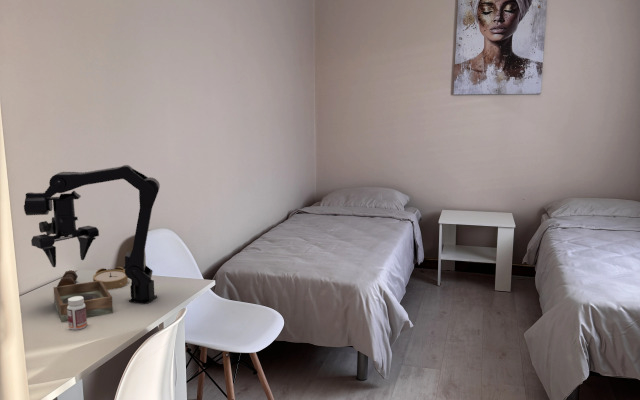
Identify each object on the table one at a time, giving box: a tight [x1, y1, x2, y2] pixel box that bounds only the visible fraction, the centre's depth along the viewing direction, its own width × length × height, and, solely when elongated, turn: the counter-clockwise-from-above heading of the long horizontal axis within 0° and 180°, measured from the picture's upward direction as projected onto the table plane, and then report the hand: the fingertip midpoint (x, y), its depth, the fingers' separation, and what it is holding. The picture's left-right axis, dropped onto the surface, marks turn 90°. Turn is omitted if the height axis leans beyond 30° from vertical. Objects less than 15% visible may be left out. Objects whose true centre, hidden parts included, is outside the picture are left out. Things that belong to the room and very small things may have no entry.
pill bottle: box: [67, 296, 88, 331], centre depth 149 cm, size 5×5×8 cm
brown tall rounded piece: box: [56, 269, 78, 287], centre depth 184 cm, size 6×5×15 cm
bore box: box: [53, 280, 114, 323], centre depth 164 cm, size 14×18×5 cm
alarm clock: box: [92, 266, 129, 291], centre depth 187 cm, size 11×5×15 cm
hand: (68, 263), depth 164 cm, fingers open, 9 cm apart
